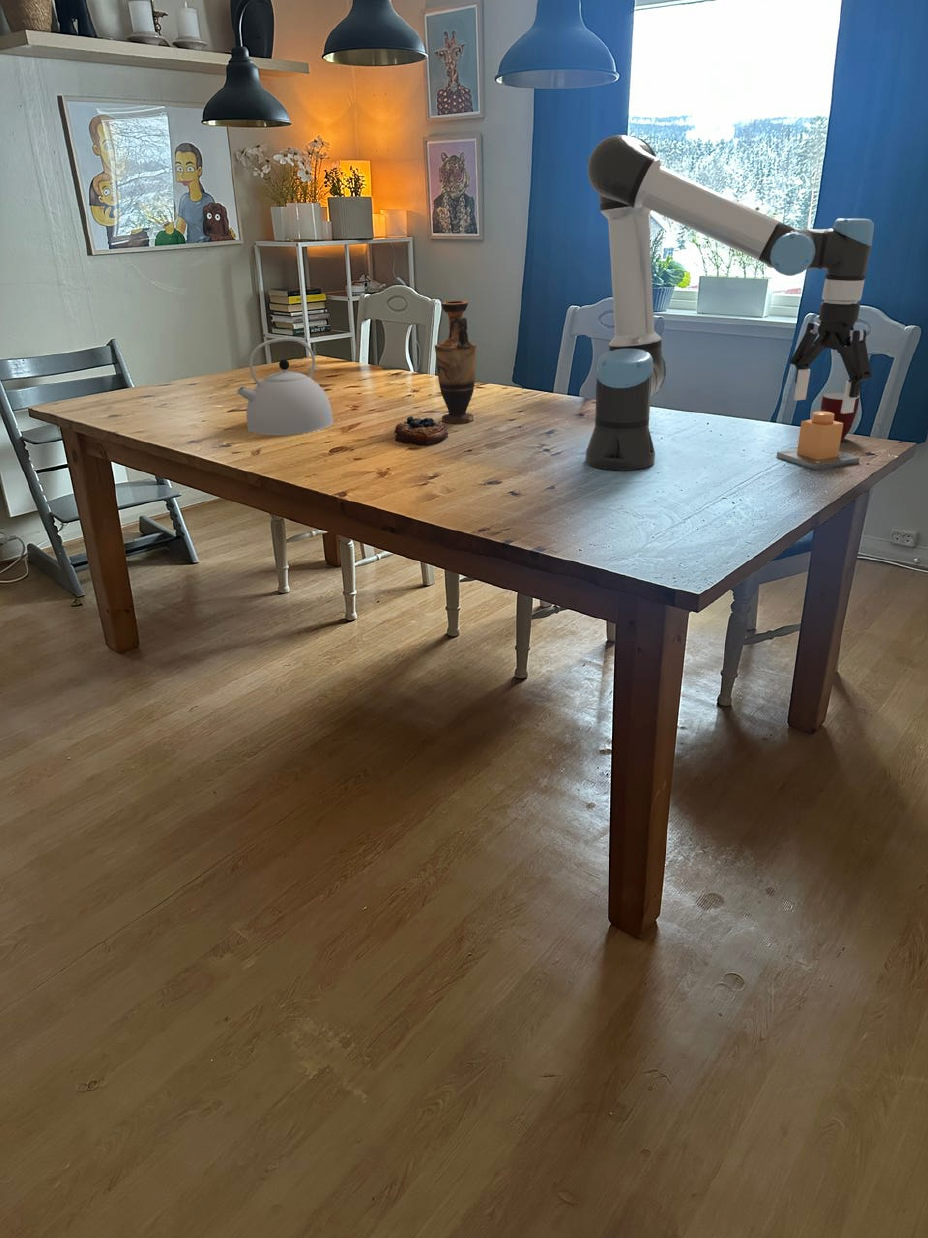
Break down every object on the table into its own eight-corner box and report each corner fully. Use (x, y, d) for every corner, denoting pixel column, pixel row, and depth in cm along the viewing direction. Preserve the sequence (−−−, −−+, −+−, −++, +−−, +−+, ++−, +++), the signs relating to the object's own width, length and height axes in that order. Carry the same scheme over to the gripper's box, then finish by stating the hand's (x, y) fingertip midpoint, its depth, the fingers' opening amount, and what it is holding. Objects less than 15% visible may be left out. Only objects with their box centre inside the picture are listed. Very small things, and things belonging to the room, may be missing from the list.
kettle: (257, 441, 224) (246, 348, 214) (226, 425, 241) (214, 338, 231) (347, 426, 236) (340, 338, 226) (312, 412, 253) (304, 329, 243)
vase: (431, 418, 242) (427, 301, 229) (469, 414, 245) (466, 298, 232) (445, 426, 233) (441, 305, 220) (484, 422, 236) (482, 302, 223)
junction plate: (816, 470, 189) (820, 439, 186) (776, 457, 199) (780, 427, 196) (858, 463, 193) (863, 432, 191) (817, 450, 203) (822, 421, 200)
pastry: (415, 432, 229) (414, 409, 226) (454, 438, 223) (454, 414, 220) (389, 442, 220) (388, 418, 218) (429, 448, 214) (428, 424, 212)
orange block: (817, 459, 192) (823, 418, 188) (796, 453, 197) (802, 412, 193) (838, 456, 194) (844, 414, 190) (817, 449, 199) (823, 409, 195)
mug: (832, 446, 206) (839, 402, 202) (802, 439, 212) (808, 397, 208) (859, 438, 212) (866, 396, 207) (829, 432, 218) (835, 391, 213)
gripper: (904, 307, 173) (881, 416, 182) (810, 294, 194) (794, 393, 203) (875, 309, 170) (854, 420, 180) (783, 295, 191) (768, 396, 200)
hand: (822, 406), depth 191 cm, fingers open, 13 cm apart
